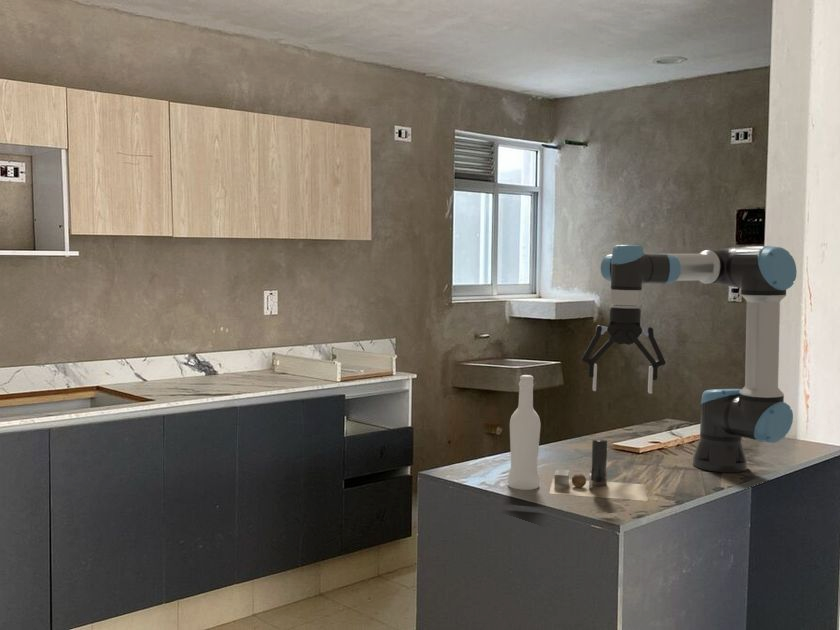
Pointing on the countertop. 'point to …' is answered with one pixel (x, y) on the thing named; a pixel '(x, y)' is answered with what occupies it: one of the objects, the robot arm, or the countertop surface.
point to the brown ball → (579, 480)
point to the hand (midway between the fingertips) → (621, 391)
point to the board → (597, 488)
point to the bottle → (524, 439)
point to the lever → (598, 461)
